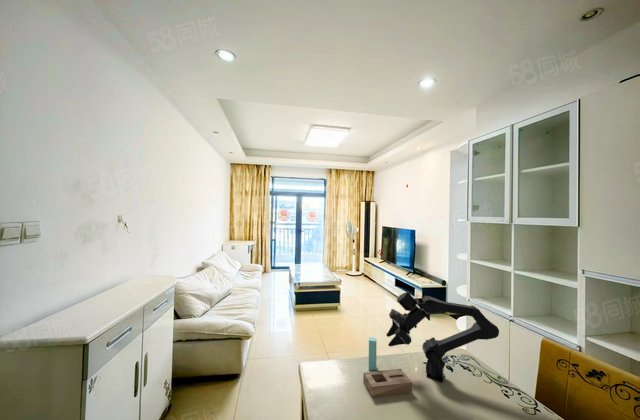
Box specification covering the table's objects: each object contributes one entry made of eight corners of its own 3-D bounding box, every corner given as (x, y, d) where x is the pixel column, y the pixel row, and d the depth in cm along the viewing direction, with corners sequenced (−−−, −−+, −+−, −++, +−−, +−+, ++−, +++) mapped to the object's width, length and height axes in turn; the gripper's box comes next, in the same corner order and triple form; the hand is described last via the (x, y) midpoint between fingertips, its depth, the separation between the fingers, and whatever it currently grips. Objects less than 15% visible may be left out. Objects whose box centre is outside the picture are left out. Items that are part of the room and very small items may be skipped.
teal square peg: (375, 366, 113) (376, 337, 114) (376, 370, 110) (376, 341, 110) (368, 365, 114) (368, 337, 114) (368, 369, 110) (368, 340, 111)
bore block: (412, 392, 96) (412, 382, 96) (371, 397, 93) (372, 386, 93) (400, 378, 105) (400, 368, 105) (363, 382, 101) (363, 372, 102)
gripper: (397, 298, 120) (374, 319, 122) (403, 311, 102) (376, 335, 103) (413, 315, 118) (390, 336, 120) (423, 332, 100) (395, 357, 101)
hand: (387, 340), depth 111 cm, fingers open, 9 cm apart
